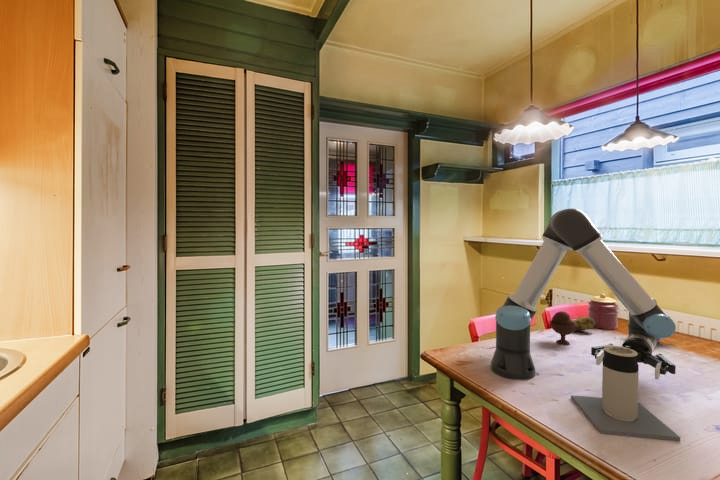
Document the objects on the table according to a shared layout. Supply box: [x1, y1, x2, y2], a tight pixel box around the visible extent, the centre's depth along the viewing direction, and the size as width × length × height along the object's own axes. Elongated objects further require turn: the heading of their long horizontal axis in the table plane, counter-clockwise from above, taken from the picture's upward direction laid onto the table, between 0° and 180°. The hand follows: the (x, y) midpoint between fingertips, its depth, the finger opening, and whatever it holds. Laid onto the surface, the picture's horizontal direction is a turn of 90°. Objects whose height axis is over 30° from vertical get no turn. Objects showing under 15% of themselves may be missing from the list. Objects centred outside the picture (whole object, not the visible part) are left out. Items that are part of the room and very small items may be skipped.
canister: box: [587, 292, 619, 330], centre depth 178 cm, size 13×13×18 cm
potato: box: [571, 316, 595, 332], centre depth 170 cm, size 8×13×8 cm, turn 42°
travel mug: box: [601, 345, 640, 420], centre depth 94 cm, size 8×8×18 cm
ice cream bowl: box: [549, 310, 577, 346], centre depth 153 cm, size 11×11×15 cm
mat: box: [570, 394, 681, 442], centre depth 94 cm, size 18×18×1 cm
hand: (625, 367), depth 97 cm, fingers open, 13 cm apart
